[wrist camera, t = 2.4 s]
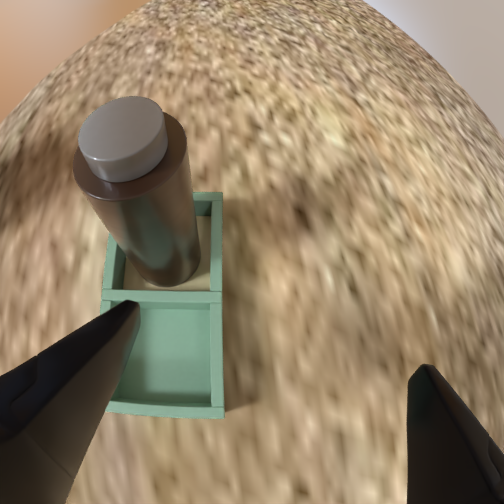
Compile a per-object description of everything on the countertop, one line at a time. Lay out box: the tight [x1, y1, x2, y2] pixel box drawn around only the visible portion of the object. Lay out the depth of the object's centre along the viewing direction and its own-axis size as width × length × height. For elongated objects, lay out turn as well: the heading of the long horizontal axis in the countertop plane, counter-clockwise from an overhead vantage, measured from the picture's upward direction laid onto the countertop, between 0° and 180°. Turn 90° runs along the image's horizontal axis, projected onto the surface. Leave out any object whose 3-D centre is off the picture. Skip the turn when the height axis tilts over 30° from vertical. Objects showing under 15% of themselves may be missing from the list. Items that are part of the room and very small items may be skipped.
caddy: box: [100, 192, 225, 419], centre depth 22 cm, size 16×8×3 cm, turn 2°
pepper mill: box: [73, 96, 201, 287], centre depth 17 cm, size 5×5×14 cm
